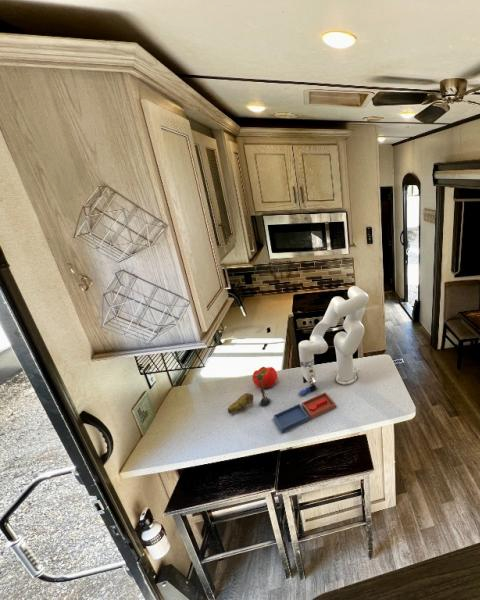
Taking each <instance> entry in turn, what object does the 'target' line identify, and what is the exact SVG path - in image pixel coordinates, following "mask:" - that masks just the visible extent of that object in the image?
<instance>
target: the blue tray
mask: <svg viewBox="0 0 480 600" xmlns="http://www.w3.org/2000/svg"><path fill="white" fill-rule="evenodd" d="M273 419H274V422H275V423H276V425H277V426H278V429H279V430H280V432H281V433H282V434H284V433H286V432H288V431H290V430H292V429H294V428H296V427H298V426H300V425H303V424H304V423H307V422H308V421H310V417H309V415H308V414H307V413H306V411H305V410H304V408H303V407H302V404H301V403H298V404H295V405H293V406H291V407H289V408H287V409H285V410H282V411H280V412H278V413H276V414H273Z"/></svg>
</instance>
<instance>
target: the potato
mask: <svg viewBox="0 0 480 600" xmlns="http://www.w3.org/2000/svg"><path fill="white" fill-rule="evenodd" d="M253 403H254V395H253V394H252V393H249V392H248V393H244V394H242V395H241V396H239V397H238V398H237V399H236V400H235V401H234V402H233V403H232V404H230V405H229V407H227V411H228V413H229V414H235V413H237V412H238V411H241V410H243V409H245V408H246V407H248V406H249V405H251V404H253Z"/></svg>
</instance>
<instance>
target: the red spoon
mask: <svg viewBox="0 0 480 600" xmlns="http://www.w3.org/2000/svg"><path fill="white" fill-rule="evenodd" d="M325 404H327V400H326V398H325V399H323V400H321V401H319V402H317V403H316V405H311V406H310V410H311V411H315V410H316V409H317V408H319V407H321V406H323V405H325Z"/></svg>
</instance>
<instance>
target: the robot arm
mask: <svg viewBox="0 0 480 600" xmlns="http://www.w3.org/2000/svg"><path fill="white" fill-rule="evenodd" d="M347 297H348V299H344V298H343V297H342V296H339V295H338V296H333V298H331V300H330V302H329V304H328V307H327V309H326V311H325V314H323V317H322V319H321V320H320V321H319V322H318V323H317V324H316V325H315V326H314V327H313V330H312V332H311V334H310V336H309V340H308V339H305V340H301V341H300V342H299V343H298V356H299V365H300V367H301V375H302V383H303V384H306V383H309V387H310V392H309V393H312V392H315V391H316V390H317V385H316V384H317V382H316V380H317V374H316V368H315V365H314V364H315V355H321V354H325V353H326V352H327V351H328V349H329V345H328V343H327V341H326V340H325V338H324V336H325V334H326V332H327V330H328V329H329V328H336V327H337V325H338V324H339V321H340V319H341V318H344V317H345V319H344V321H343V323H342V328H343V329H344V331H339V332H337V333H336V334H335V335H334V337H333V346H334V349H335V355H336V366H337V375H336V376H335V381H336V382H337V383H338V384H340V385H350V384H353V383H354V382H355V381H356V380H357V378H358V377H357V373H358V374H359V373H360V372H361V371H362V370H361V368H357V367H355V368H354V359H353V357H354V356H353V355H354V354H355V353H356V352H357V350H358V348H359V346H360V344H361V342H362V340H363V339H364V338H363V337H364V335H365V330H366V329H365V326H364V325H363V323H362V320H363V317H364V314H365V311H366V306H367V305H368V304H369V301H370V297H369V294H367V293H366V291H364V290H363V289H362V288H360V287H359V286H357V285H352V286H350V287H349V288H348V290H347ZM315 385H316V386H315Z"/></svg>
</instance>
